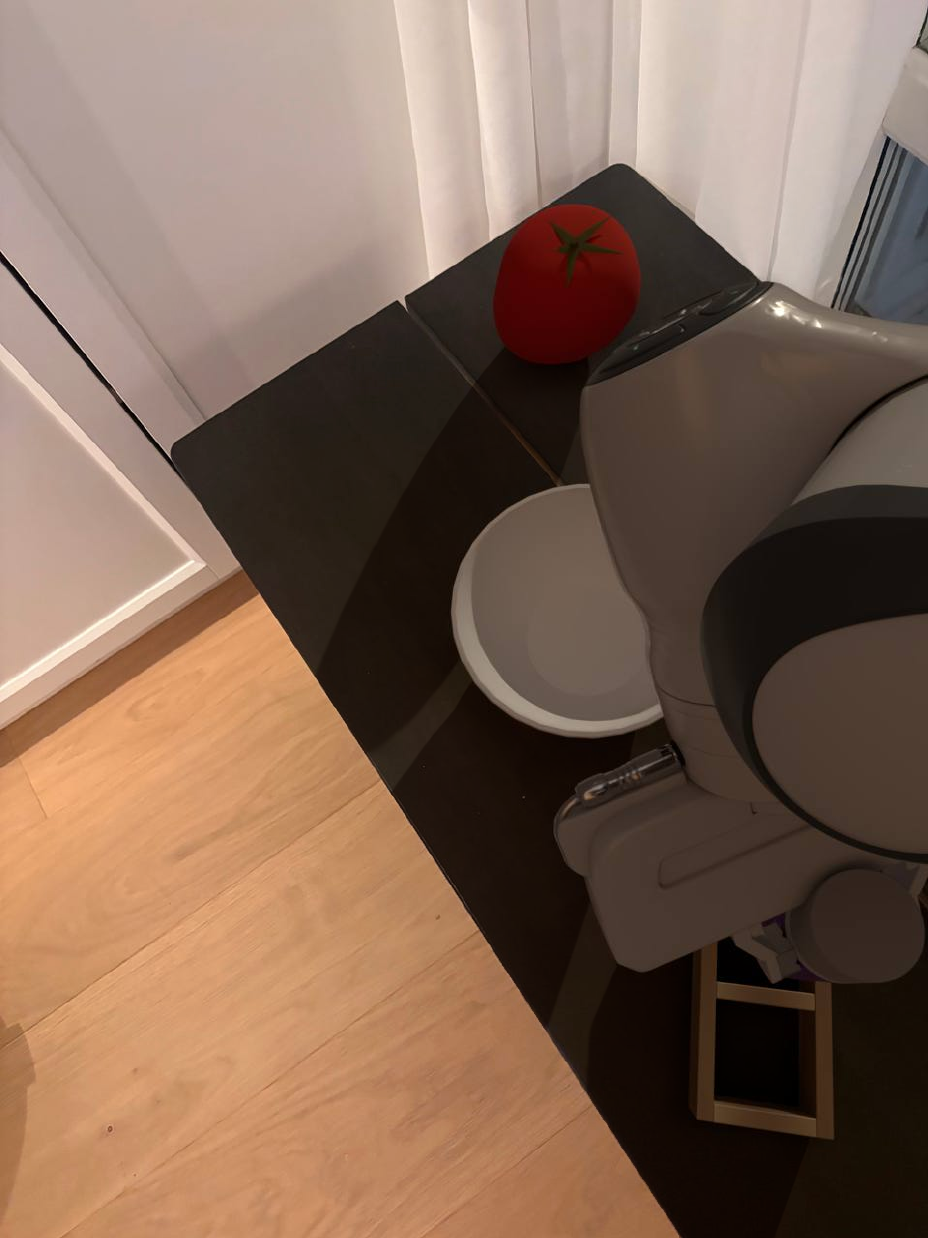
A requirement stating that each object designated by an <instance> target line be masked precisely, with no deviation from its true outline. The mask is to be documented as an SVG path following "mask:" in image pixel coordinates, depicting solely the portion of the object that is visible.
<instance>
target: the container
mask: <svg viewBox="0 0 928 1238" xmlns="http://www.w3.org/2000/svg"><path fill="white" fill-rule="evenodd" d="M920 910H921V908H920V909H919V907H918V905H917V903H916V901H915V900H914V898H913V897H912V896H911V894H910V893H909V892H908V891H907V890H906V889H905V888H904V887H903V886H902V885H901V884H900V883H898V882H897V881H896V880H894V879H893V878H891V877H889V876H887V875H885V874H883V873H882V872H881V871H880V872H877V871H874V870H869V869H851V870H846V871H842V872H839V873H836V874H834V875H832V876H830V877H828V878H827V879H825V880H824V881H823V882H821V883H820V884H819V885H818V886H817V887H816V888H815V890H814V891H813V892H812V893H811V895H810V896H809V897H808V899H807V901H806V902H805V904H803V905H801V906H798V907H796V908H794V909H792V910H789V911H787V912H785V913H782V914H780V915H778V916H775V917H773V918H771V919H768V920H766V921H764V922H761V924H762V927H763V928H764V927H766V926H769V925H771V924H774V923H777V924H778V926H779V927H780V928H781V930H782V931H783V933H784V936H785V937H786V938H788V939H789V941H790V942H791V944H792V945H793V947H794V948H795V952H796V954H797V957H798V959H797V962H798V963H799V964H800V967H801V971H800V972H798V973H795V974H793V975H791V976H788V977H786V978H788V979H792V980H797V981H798V980H808V981H819V982H830V983H831V984H840V985H841V984H846V985H851V984H881V983H888V982H892V981H894V980H897V979H899V978H901V977H903V976H904V975H906V974H907V973H908V972H910V971H911V970H912V969H913V968H914V966H915V965H916V964H917V963H918V961H919V959H920V957H921V955H922V952H923V950H924V946H925V939H926V927H925V922H924V917H923V914H922V910H921V911H920Z"/></svg>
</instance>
